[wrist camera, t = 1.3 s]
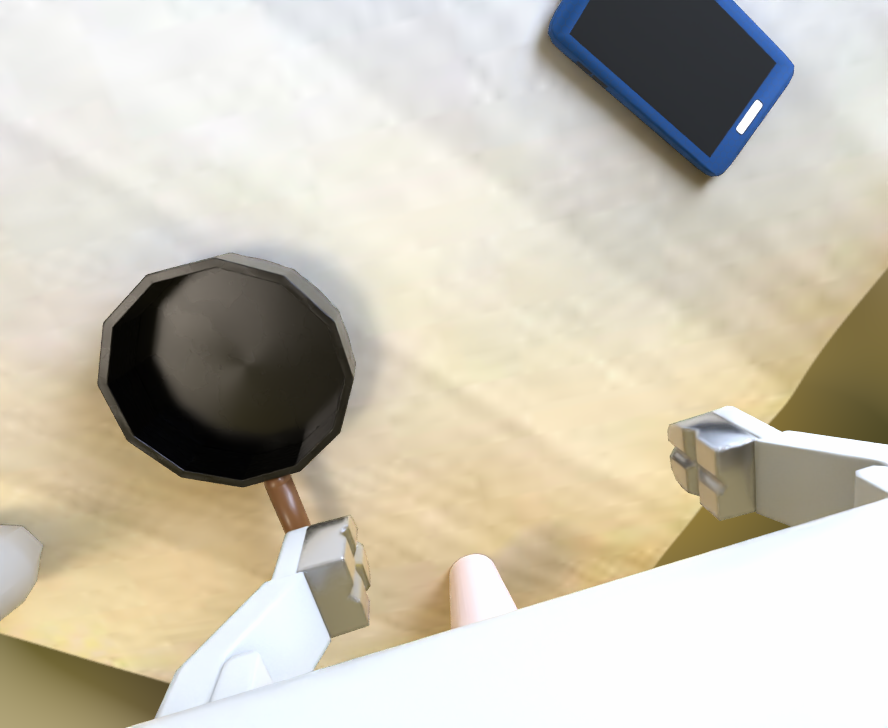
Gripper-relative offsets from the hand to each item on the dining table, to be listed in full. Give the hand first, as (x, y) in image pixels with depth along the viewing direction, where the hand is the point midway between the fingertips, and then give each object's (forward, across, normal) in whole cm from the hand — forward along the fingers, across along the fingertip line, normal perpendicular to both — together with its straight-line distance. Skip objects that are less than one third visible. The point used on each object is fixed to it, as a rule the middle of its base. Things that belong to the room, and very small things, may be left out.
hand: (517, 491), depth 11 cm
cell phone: (+20, -17, -12) cm, 29 cm away
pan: (+20, +12, +4) cm, 23 cm away
